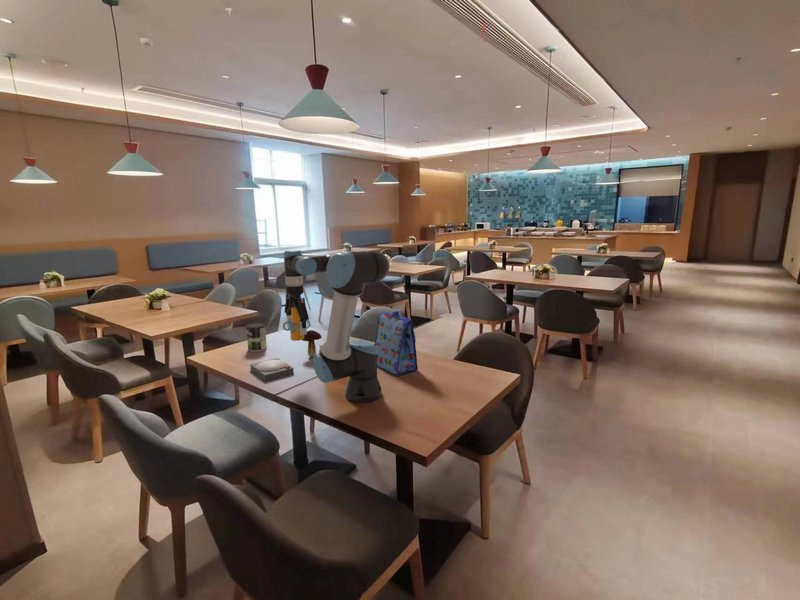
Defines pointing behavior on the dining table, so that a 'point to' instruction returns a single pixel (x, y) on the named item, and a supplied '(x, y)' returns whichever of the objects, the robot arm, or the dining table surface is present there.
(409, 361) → the lunch bag
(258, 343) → the coffee can
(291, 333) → the yellow tube with rings
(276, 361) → the mount slab
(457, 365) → the dining table surface
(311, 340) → the decorative mushroom
